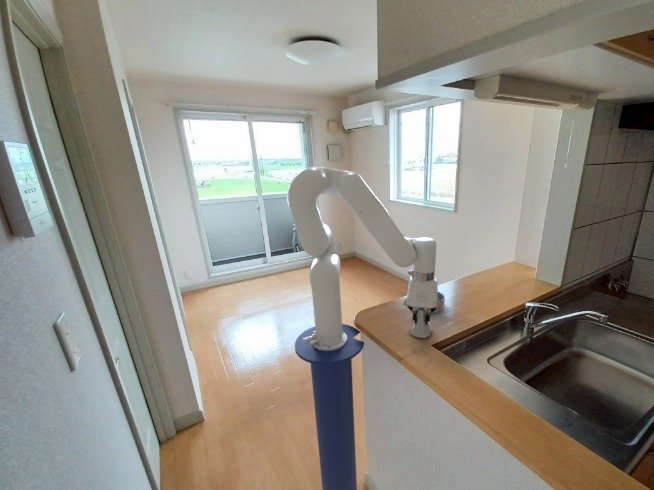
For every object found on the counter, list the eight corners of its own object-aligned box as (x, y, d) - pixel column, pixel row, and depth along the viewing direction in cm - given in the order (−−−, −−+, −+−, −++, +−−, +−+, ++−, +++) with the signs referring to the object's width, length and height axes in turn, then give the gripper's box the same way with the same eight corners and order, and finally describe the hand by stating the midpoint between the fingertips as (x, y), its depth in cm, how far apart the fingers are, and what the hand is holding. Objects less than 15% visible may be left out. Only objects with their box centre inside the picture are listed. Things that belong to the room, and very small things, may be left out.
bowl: (427, 317, 124) (428, 306, 122) (405, 305, 134) (405, 294, 132) (450, 308, 131) (451, 297, 129) (427, 297, 141) (428, 287, 140)
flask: (407, 334, 112) (407, 309, 109) (416, 326, 118) (417, 302, 114) (425, 340, 108) (426, 315, 105) (433, 331, 114) (435, 307, 110)
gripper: (398, 277, 103) (397, 325, 109) (449, 280, 100) (445, 329, 107) (399, 269, 110) (399, 315, 116) (447, 271, 107) (444, 318, 114)
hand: (421, 321), depth 111 cm, fingers closed on flask, 3 cm apart
